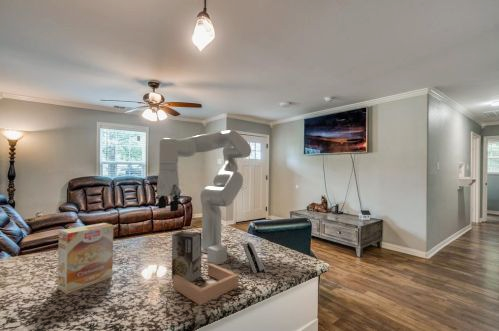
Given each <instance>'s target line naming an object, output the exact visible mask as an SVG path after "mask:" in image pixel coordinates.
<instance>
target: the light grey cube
mask: <svg viewBox="0 0 499 331" xmlns="http://www.w3.org/2000/svg"><path fill="white" fill-rule="evenodd" d="M206 254H207V255H206V256H207V258H206V259H207V262H208V263H212V264H214V265H217V266H218V265H219V264H222V263H225V262H227V261H228V256H227V255H228V247H227V246H224V245H223V246H221V245H215V246H211V247H208V248H207V253H206Z"/></svg>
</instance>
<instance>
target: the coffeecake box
mask: <svg viewBox="0 0 499 331" xmlns="http://www.w3.org/2000/svg"><path fill="white" fill-rule="evenodd" d="M57 251H58V252H57V253H58V254H57V255H58V257H57V289H58V290H59V291H61V292H63V293H64V294H65V295H68V294H70V293H73V292H76V291H79V290H81V289H84V288H86V287H87V288H88V287H89V286H92V285H95V284H97V283H100V282H103V281H106V280H108V279H111V278H113V264H114V261H113V260H114V259H113V257H114V256H113V255H114V252H113V251H114V224H111V223H108V222H101V223H95V224H90V225H84V226H78V227H72V228H66V229H59V230H58V250H57Z"/></svg>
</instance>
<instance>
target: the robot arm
mask: <svg viewBox="0 0 499 331" xmlns="http://www.w3.org/2000/svg"><path fill="white" fill-rule="evenodd" d="M221 148H223V149H222V155H223V164H222V165H221V168H219V171H217V173H216V175H215V176H214V178H213V182H212V183H213V185H209V186H208V185H207V186H204V187H203V188H202V190H200V203H201V209H202V210H201V213H202V214H201V253H204V254H207V248H208V247H211V246H215V245H221V246H224V245H223V244H222V211H221V208H220V207H225V208H226V207H229V206H232V204H233V202H234V200H235V199H236V197H237V196H238V194H239V192H240V191H241V189H242V186H243V183H244V179H243V175H242V173H240V172H239V170H238V169H239V168H238V164H237V160H236V159H246V158H248V157H250V156H251V153H252V149H251V148H252V147H251V145H250V143H249V142H248V141H247V140H246V139H245V138H244V137H243V136H242V135H241V134H240V133H239V132H237V131H236V130H234V129H230V130H229V129H228V130H220V131H215V132H209V133H205V134H204V133H203V134H200V135H196V136H195V135H194V136H191V137H186V138H182V139H176V138H170V137H169V138H168V137H164V138H161V139H160V140H159V159H158V160H159V164H158V166H159V167H158V176H157V184H156V185H157V186H156V194H157V199H158V201H157V204H158V206H157V207H158V209H166V207H167V198H166V197H169V198H170V201H169V202H170V204H169V205H170V208H169V210H170V212H177V211H179V201H180V197H181V193H182V191H181V189H180V187H179V186H180V185H179V158H189V157H192V156H194V155H195V154H196V153H208V152H210V151H214V150H218V149H221Z"/></svg>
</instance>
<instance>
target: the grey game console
mask: <svg viewBox="0 0 499 331" xmlns="http://www.w3.org/2000/svg"><path fill="white" fill-rule="evenodd" d="M242 248H243V251H244V254H245V257H246V259H247V261H248V263H249V266H250V267H251V270H252V272H253V274H257V273H258V271H260V272H261V271H263V270H264V272H265V273H267V269H266V267H265V266H264V264H263V262H262V260H261V259H260V258H259V256H258V253H257V251H256V249H255V247H254V245H253V243H252V242H251V241H249V242H247V243H243V245H242Z"/></svg>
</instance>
